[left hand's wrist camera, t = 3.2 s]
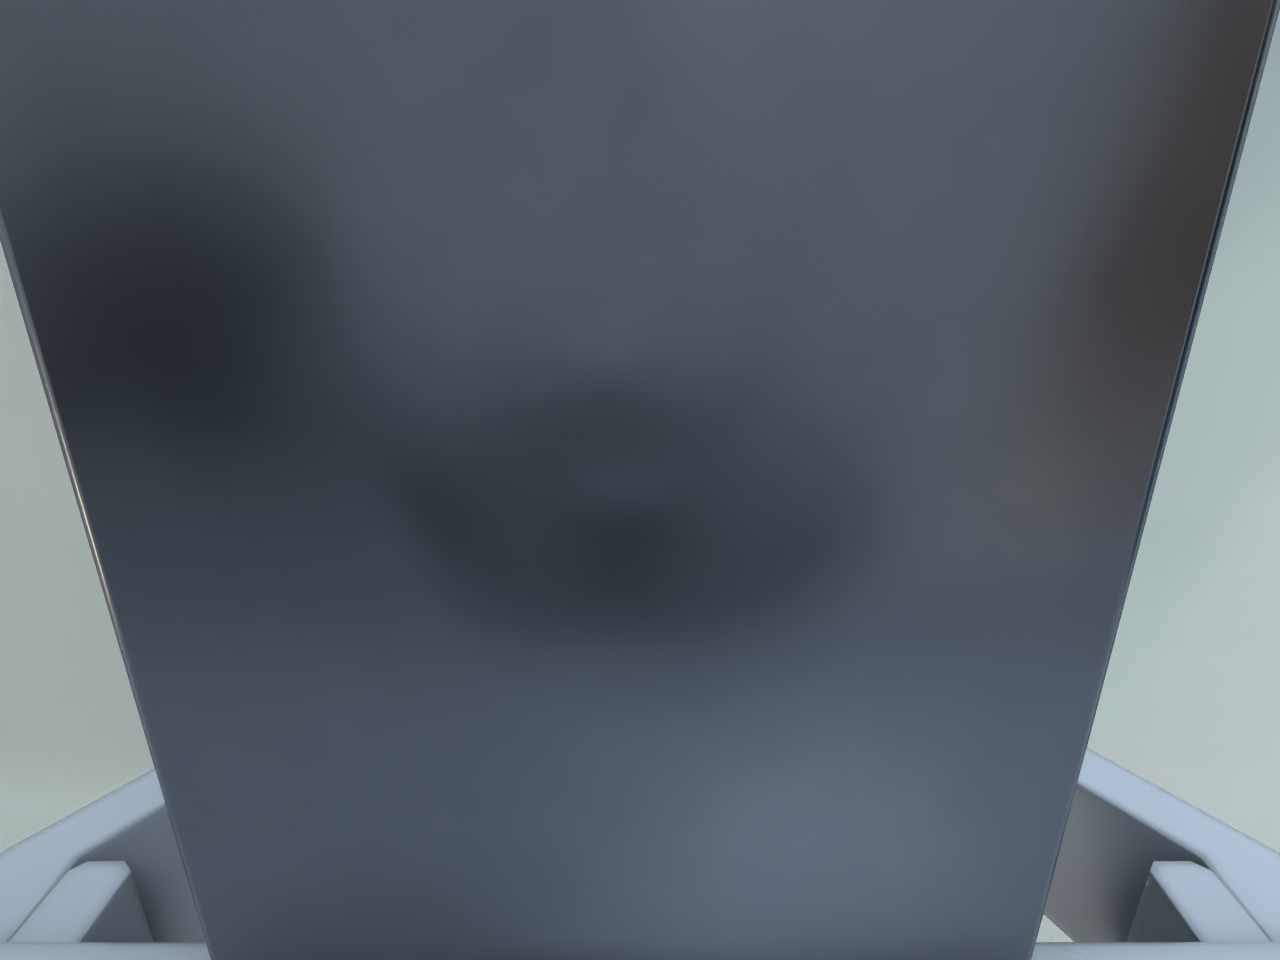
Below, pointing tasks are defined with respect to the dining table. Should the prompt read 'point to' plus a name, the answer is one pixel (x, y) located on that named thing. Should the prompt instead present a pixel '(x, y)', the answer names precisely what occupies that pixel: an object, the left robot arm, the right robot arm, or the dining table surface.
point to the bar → (618, 443)
